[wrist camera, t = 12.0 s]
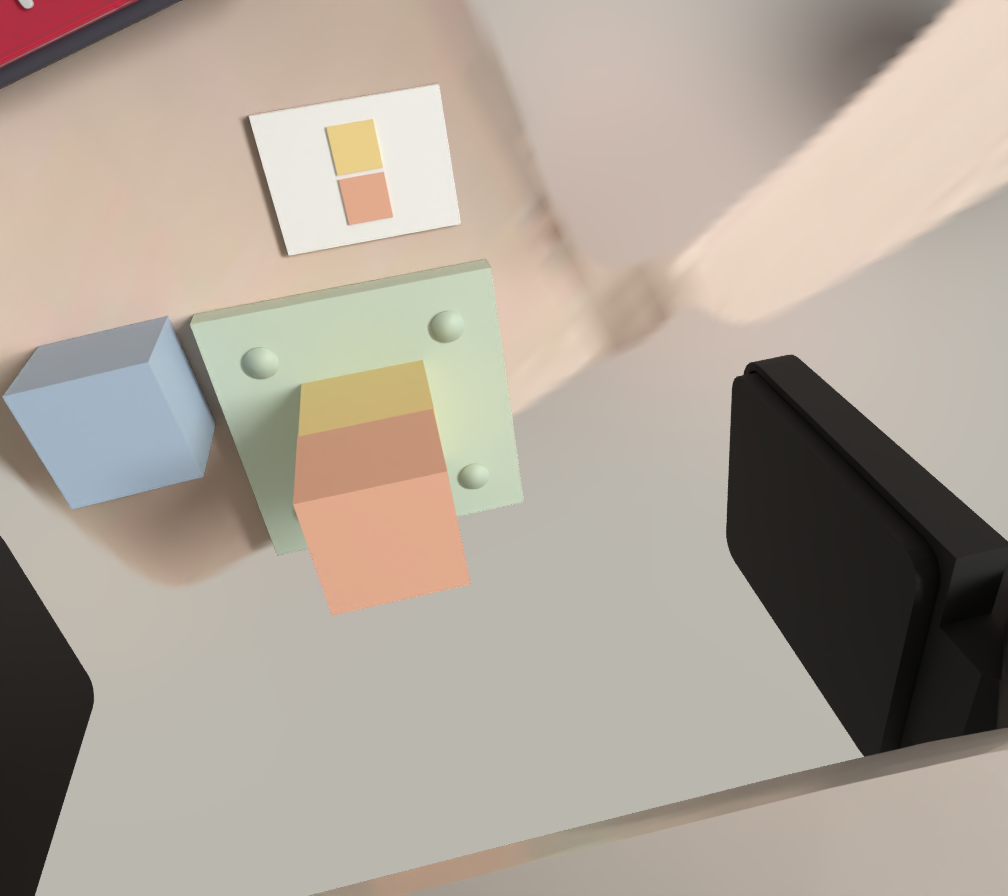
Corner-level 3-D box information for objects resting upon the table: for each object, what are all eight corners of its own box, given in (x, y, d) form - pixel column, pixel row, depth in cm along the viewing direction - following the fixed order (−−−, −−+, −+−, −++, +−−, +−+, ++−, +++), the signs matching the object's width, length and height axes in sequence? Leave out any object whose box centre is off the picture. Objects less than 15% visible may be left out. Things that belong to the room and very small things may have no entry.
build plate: (193, 314, 37) (189, 326, 36) (486, 258, 38) (491, 268, 37) (278, 542, 45) (277, 557, 43) (519, 489, 46) (524, 503, 45)
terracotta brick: (297, 436, 34) (293, 504, 30) (433, 408, 35) (447, 471, 31) (331, 541, 38) (332, 615, 33) (455, 514, 38) (470, 584, 34)
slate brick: (39, 345, 36) (2, 396, 32) (168, 314, 37) (148, 361, 33) (98, 450, 40) (72, 509, 36) (216, 421, 40) (203, 476, 36)
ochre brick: (301, 383, 38) (298, 436, 34) (422, 359, 39) (434, 408, 35) (331, 482, 42) (332, 541, 38) (442, 458, 42) (455, 514, 38)
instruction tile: (249, 115, 33) (248, 116, 33) (437, 83, 34) (439, 84, 33) (288, 253, 36) (288, 256, 36) (460, 222, 37) (461, 224, 37)
